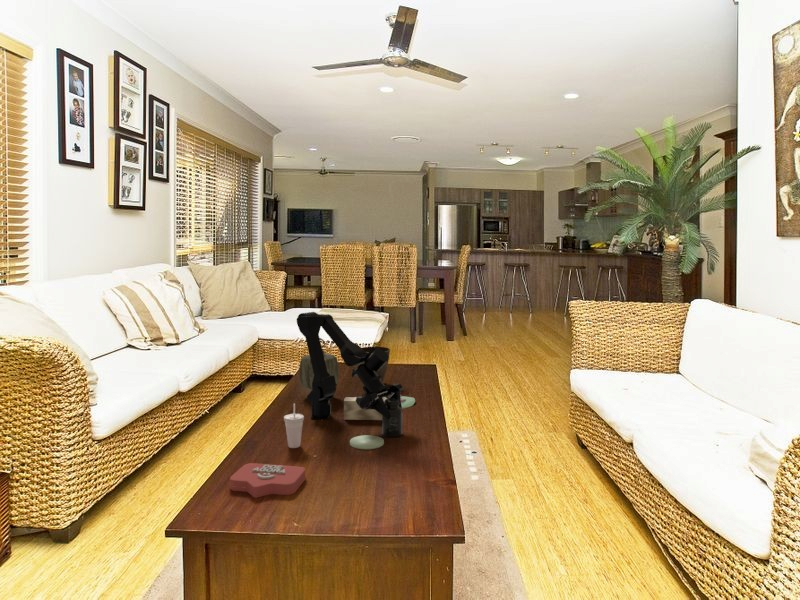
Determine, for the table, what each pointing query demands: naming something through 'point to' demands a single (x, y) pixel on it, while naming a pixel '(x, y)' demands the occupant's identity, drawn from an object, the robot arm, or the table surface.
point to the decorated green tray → (406, 401)
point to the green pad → (366, 442)
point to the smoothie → (294, 428)
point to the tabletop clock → (307, 369)
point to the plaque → (267, 479)
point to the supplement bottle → (392, 419)
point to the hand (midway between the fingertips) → (395, 416)
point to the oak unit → (359, 411)
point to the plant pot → (384, 367)
